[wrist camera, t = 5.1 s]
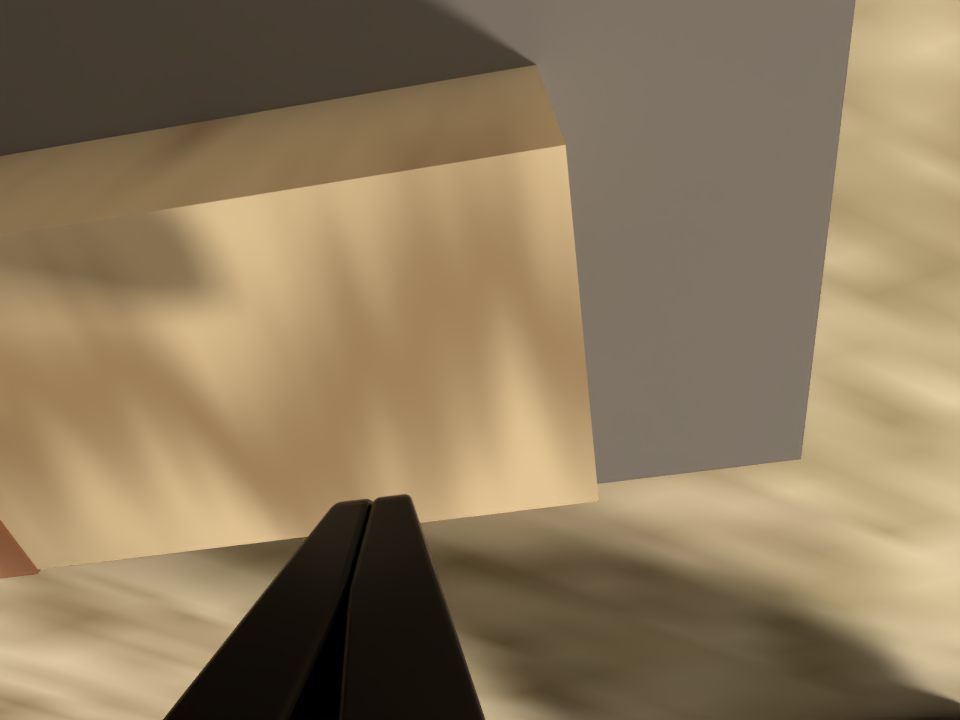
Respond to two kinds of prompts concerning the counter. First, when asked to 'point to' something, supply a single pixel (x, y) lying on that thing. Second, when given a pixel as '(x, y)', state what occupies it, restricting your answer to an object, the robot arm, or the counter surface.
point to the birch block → (290, 323)
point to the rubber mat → (590, 158)
